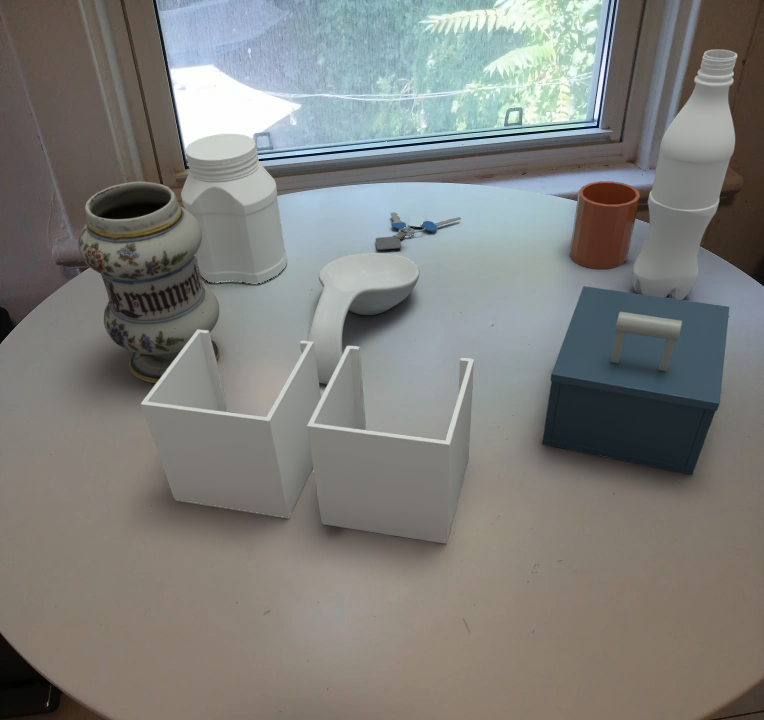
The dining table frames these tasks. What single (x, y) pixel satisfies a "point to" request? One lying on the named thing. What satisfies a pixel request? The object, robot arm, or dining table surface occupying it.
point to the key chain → (398, 224)
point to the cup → (603, 224)
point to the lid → (645, 347)
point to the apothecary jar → (148, 273)
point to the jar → (233, 210)
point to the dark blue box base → (626, 427)
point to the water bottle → (688, 182)
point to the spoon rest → (356, 299)
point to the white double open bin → (306, 448)
